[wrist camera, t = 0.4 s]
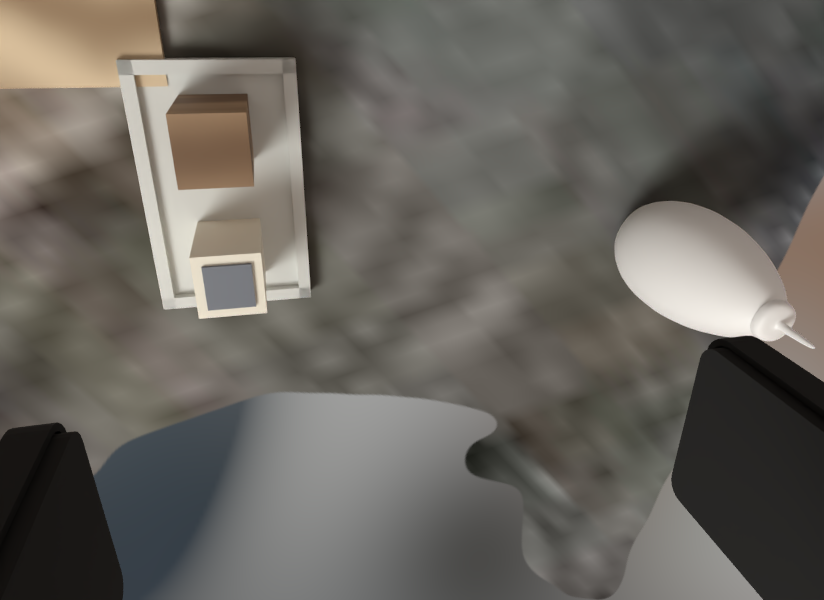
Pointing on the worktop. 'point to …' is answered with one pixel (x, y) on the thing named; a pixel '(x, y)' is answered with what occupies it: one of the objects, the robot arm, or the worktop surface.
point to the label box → (228, 268)
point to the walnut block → (211, 141)
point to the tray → (181, 209)
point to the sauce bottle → (703, 272)
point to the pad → (76, 42)
